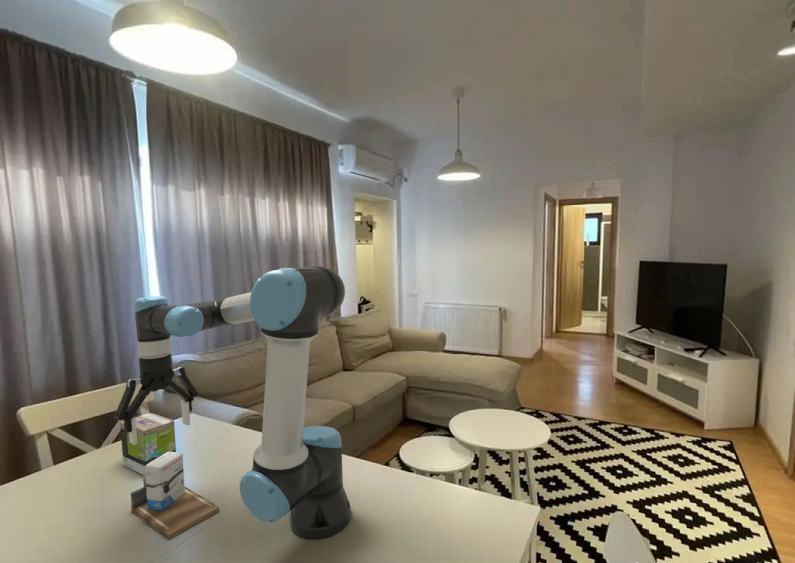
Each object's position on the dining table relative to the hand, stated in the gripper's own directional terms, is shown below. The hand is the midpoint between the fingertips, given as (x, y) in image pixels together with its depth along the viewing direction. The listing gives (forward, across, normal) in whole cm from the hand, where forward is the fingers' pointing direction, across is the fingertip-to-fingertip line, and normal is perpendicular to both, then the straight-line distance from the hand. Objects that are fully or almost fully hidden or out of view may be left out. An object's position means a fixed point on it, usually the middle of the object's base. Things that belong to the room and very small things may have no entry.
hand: (161, 433), depth 112 cm
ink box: (+19, 0, 0) cm, 19 cm away
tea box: (+20, -8, -27) cm, 35 cm away
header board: (+20, 0, +5) cm, 21 cm away
